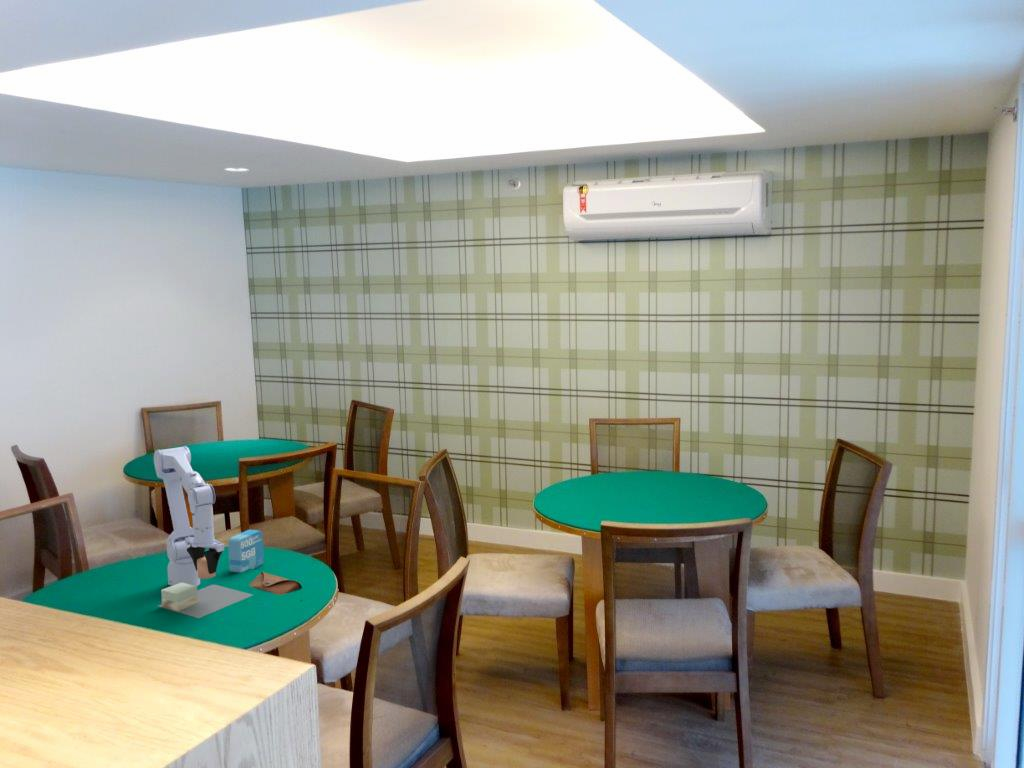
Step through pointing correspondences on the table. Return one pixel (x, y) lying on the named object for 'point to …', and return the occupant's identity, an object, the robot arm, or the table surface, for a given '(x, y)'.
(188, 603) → the birch base slab
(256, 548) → the data package
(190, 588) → the sage top slab
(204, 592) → the slate board
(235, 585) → the table surface
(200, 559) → the terracotta cylinder
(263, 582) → the sunglasses case
